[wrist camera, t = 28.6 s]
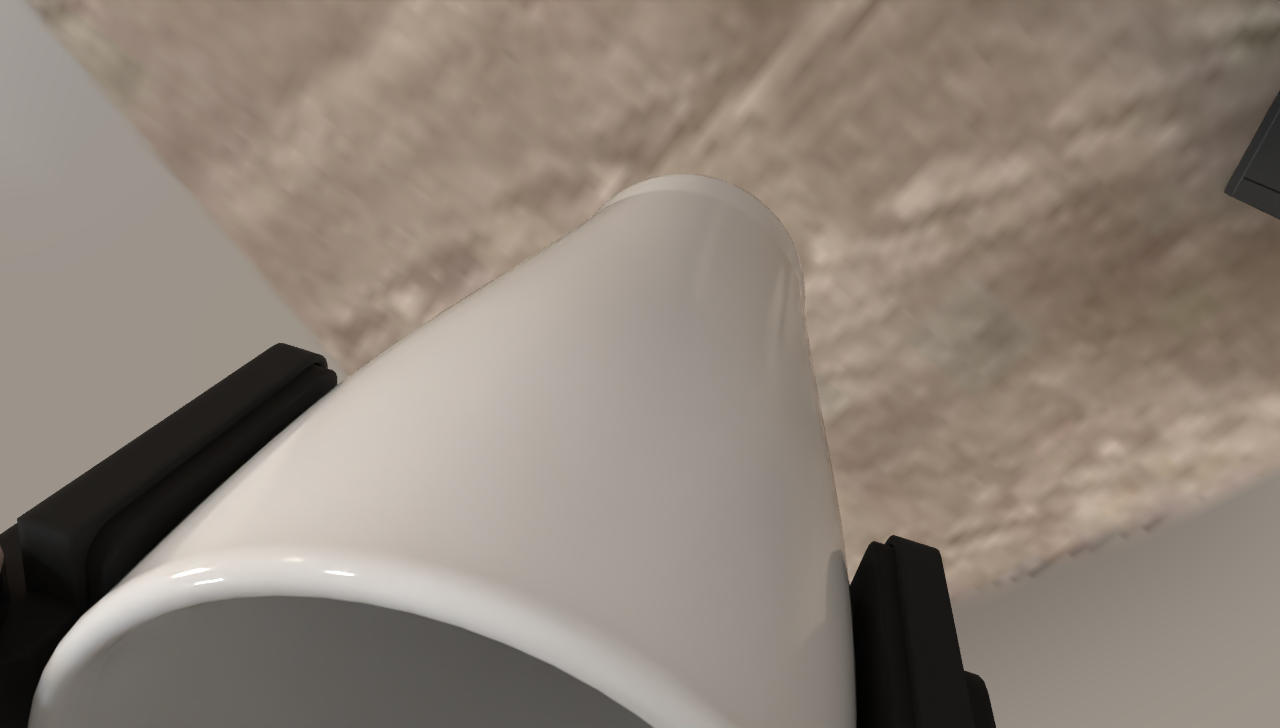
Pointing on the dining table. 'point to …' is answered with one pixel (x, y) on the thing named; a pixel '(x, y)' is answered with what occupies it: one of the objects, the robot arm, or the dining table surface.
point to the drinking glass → (520, 515)
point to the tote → (1261, 167)
